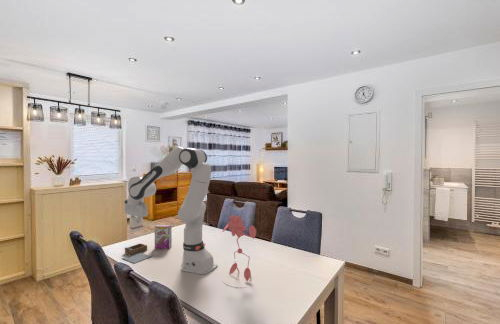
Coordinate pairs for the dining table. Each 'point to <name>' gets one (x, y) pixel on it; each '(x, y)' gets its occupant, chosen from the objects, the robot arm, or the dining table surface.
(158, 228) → the candy bar box
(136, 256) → the mat
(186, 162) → the robot arm
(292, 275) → the dining table surface
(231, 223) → the red stick figure
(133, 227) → the white upright block
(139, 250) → the wooden card holder
